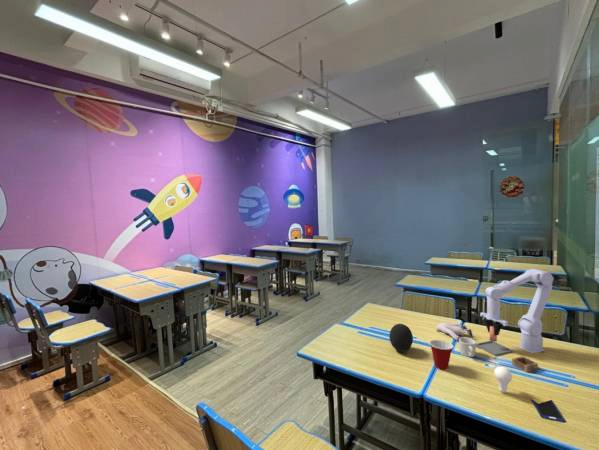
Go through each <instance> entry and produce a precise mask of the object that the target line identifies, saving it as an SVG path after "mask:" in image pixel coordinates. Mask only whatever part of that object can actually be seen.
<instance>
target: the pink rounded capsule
mask: <svg viewBox="0 0 599 450" xmlns="http://www.w3.org/2000/svg"><path fill="white" fill-rule="evenodd" d="M497 339H498V335H494V327H493V326H490V333H489V341H494V342H497V341H498V340H497Z"/></svg>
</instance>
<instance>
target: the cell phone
mask: <svg viewBox="0 0 599 450" xmlns="http://www.w3.org/2000/svg"><path fill="white" fill-rule="evenodd" d="M530 401H531V403H532V404H533V406H534V408H535V410H536V411H537V413H538V415H539V417H541V418H542V419H545V420H547V421H548V420H550V421H555V422H557V423H564V424H566V420H565V417H564V416H563V415H562V413H561V411H559V409H558V407H557V406H556V404H555V402H554V401H553V400H552V399H550V400H546V401H543V402H540V403H538V402H536V400H533V399H532V398H530Z"/></svg>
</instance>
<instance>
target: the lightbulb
mask: <svg viewBox="0 0 599 450" xmlns="http://www.w3.org/2000/svg"><path fill="white" fill-rule="evenodd" d="M493 374H494V377H495V379H496V381H497V382H498V383H497V385H498V390H499V391H500V392H501V393H502V394H504V393H507V390H508V385H509V383H511V381H512V379H513V375H512V372H511V371H510V370H509V368H507V367H505V366H496V367H495V369H494V371H493Z"/></svg>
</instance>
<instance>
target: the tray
mask: <svg viewBox="0 0 599 450" xmlns="http://www.w3.org/2000/svg"><path fill="white" fill-rule="evenodd" d="M476 348H478V349H479V350H483V351H485V352H487V353H489V354H491V355H492V356H495V357H497V356H498V357H499V356H501V355H506V354H510V353H513V352H514V351H513V349H511V348H509V347H506V346H505V345H502V344H500V343H498V342H497V341H491V340H488V341H482V342H478V343H477V342H476Z"/></svg>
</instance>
